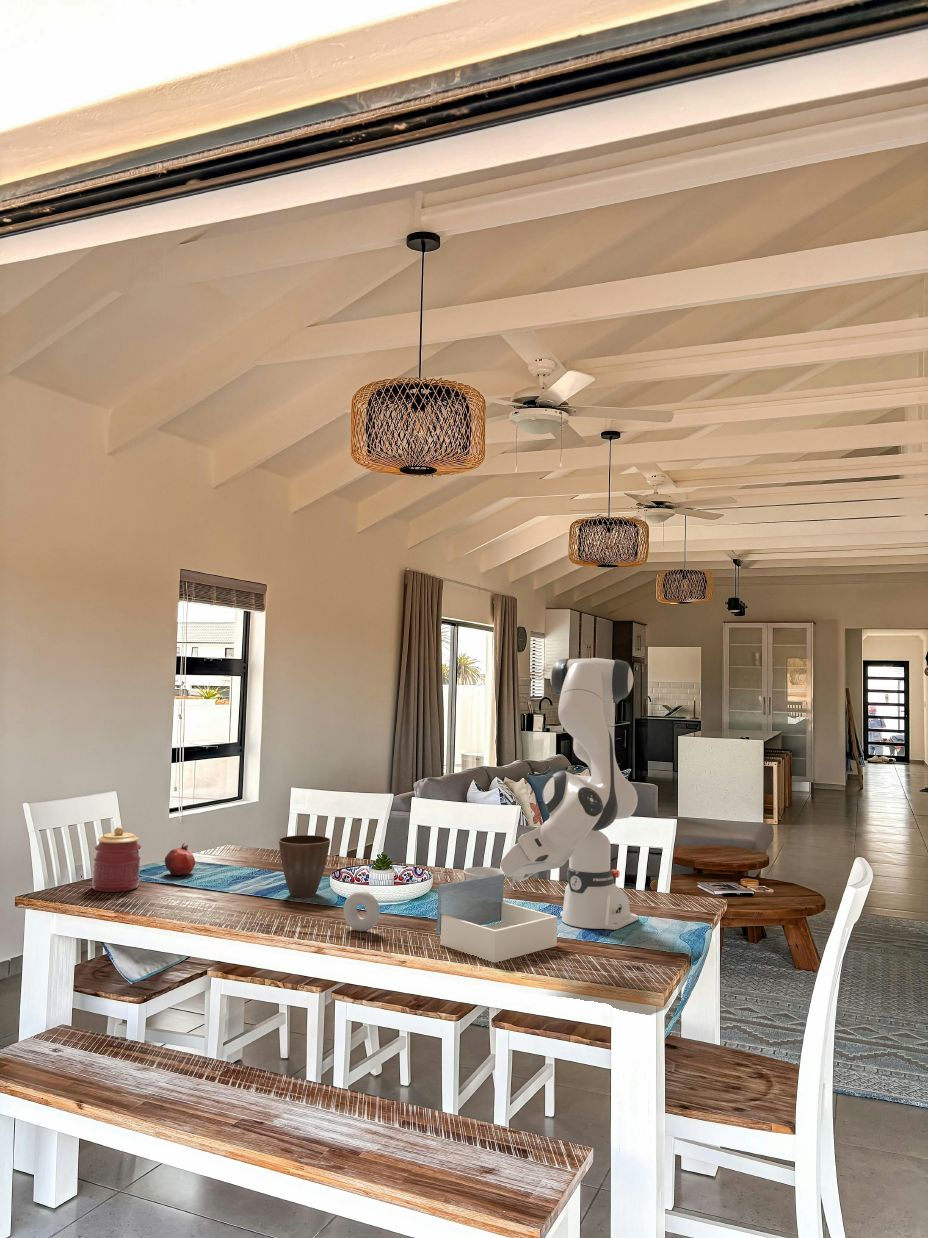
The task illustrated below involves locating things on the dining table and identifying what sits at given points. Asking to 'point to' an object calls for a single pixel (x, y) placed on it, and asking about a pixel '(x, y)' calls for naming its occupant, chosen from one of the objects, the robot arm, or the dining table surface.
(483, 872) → the teacup
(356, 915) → the donut
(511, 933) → the drawer box
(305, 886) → the plant pot
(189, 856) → the fruit
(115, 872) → the canister
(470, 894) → the grey rectangular panel
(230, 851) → the dining table surface
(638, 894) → the dining table surface
